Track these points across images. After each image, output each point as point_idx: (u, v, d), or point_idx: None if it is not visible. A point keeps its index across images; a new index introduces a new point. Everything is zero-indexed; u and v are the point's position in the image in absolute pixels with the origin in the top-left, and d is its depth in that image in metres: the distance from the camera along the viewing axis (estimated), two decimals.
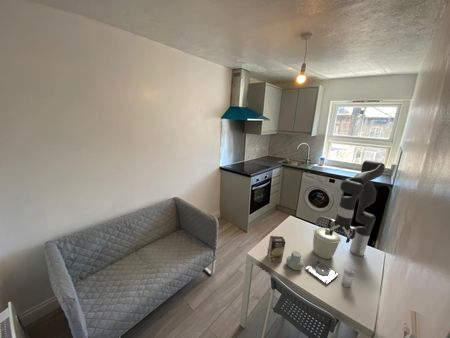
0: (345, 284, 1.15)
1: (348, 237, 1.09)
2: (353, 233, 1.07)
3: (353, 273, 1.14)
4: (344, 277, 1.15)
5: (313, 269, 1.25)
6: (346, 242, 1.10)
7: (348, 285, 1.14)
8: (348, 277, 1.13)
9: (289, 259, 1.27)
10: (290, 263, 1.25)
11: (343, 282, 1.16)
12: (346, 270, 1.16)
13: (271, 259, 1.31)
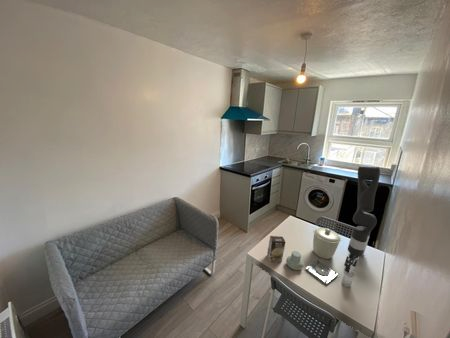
0: (345, 284, 1.15)
1: (357, 261, 1.15)
2: (360, 255, 1.15)
3: (353, 273, 1.14)
4: (344, 277, 1.15)
5: (313, 269, 1.25)
6: (355, 266, 1.16)
7: (348, 285, 1.14)
8: (348, 277, 1.13)
9: (289, 259, 1.27)
10: (290, 263, 1.25)
11: (343, 282, 1.16)
12: None
13: (271, 259, 1.31)
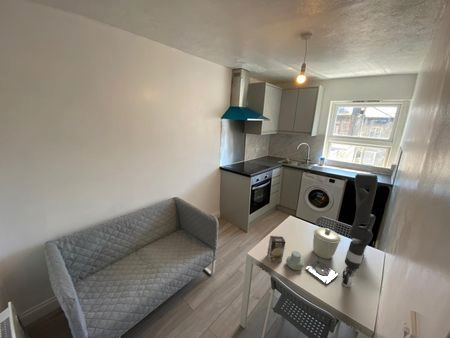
0: (345, 284, 1.15)
1: None
2: None
3: (353, 273, 1.14)
4: None
5: (313, 269, 1.25)
6: None
7: (348, 285, 1.14)
8: None
9: (289, 259, 1.27)
10: (290, 263, 1.25)
11: None
12: None
13: (271, 259, 1.31)
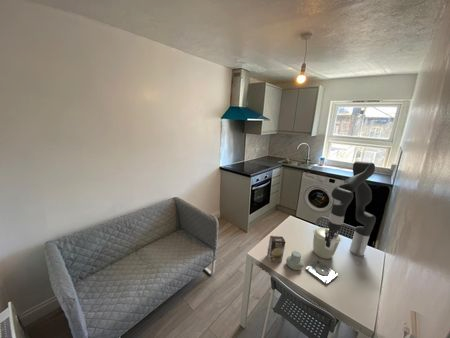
0: None
1: None
2: (338, 233, 1.18)
3: (335, 236, 1.15)
4: None
5: (313, 269, 1.25)
6: None
7: (331, 248, 1.16)
8: None
9: (289, 259, 1.27)
10: (290, 263, 1.25)
11: None
12: None
13: (271, 259, 1.31)
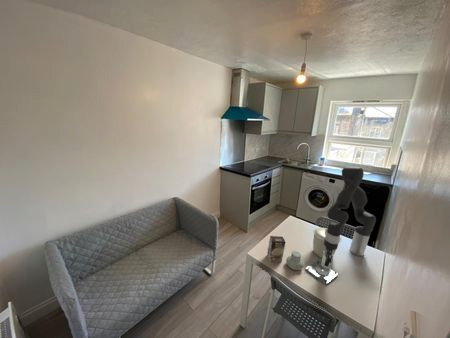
0: (326, 266, 1.19)
1: None
2: None
3: None
4: None
5: (313, 269, 1.25)
6: None
7: (329, 266, 1.19)
8: None
9: (289, 259, 1.27)
10: (290, 263, 1.25)
11: (324, 265, 1.19)
12: (325, 252, 1.19)
13: (271, 259, 1.31)
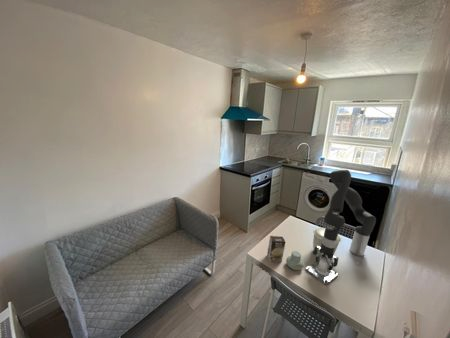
0: (326, 270, 1.22)
1: None
2: None
3: None
4: (325, 266, 1.20)
5: (313, 269, 1.25)
6: None
7: None
8: None
9: (289, 259, 1.27)
10: (290, 263, 1.25)
11: (325, 270, 1.21)
12: (324, 259, 1.20)
13: (271, 259, 1.31)
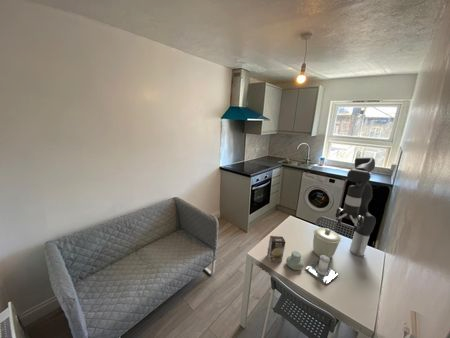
0: (326, 270, 1.22)
1: None
2: None
3: (325, 256, 1.23)
4: (325, 266, 1.20)
5: (313, 269, 1.25)
6: None
7: None
8: None
9: (289, 259, 1.27)
10: (290, 263, 1.25)
11: (325, 270, 1.21)
12: (324, 259, 1.20)
13: (271, 259, 1.31)
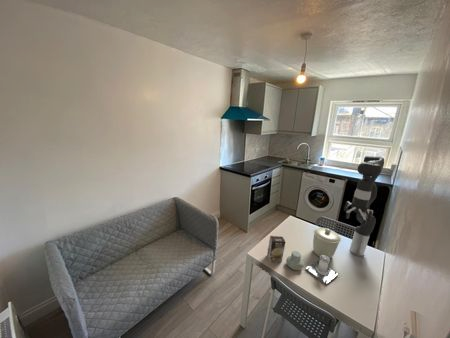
0: (326, 270, 1.22)
1: None
2: None
3: (325, 256, 1.23)
4: (325, 266, 1.20)
5: (313, 269, 1.25)
6: None
7: None
8: None
9: (289, 259, 1.27)
10: (290, 263, 1.25)
11: (325, 270, 1.21)
12: (324, 259, 1.20)
13: (271, 259, 1.31)
